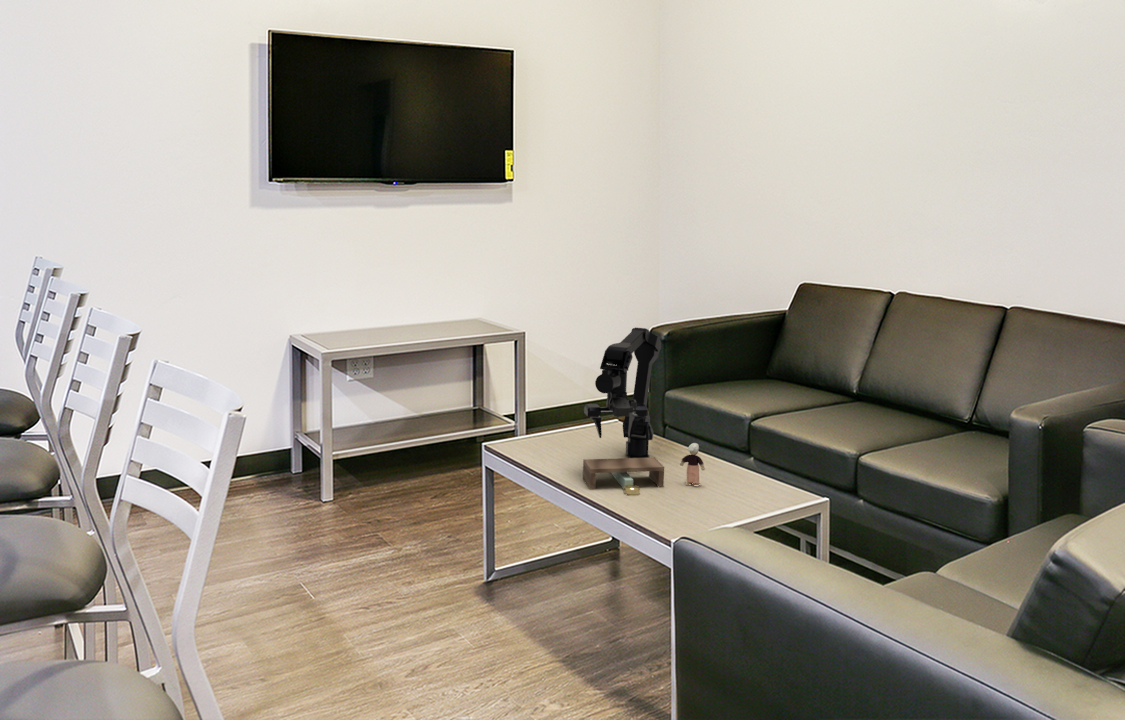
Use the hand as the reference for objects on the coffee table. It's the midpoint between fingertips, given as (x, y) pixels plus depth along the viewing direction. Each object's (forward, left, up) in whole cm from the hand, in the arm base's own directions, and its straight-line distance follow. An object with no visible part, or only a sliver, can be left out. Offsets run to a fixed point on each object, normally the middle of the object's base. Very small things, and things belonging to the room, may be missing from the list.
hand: (614, 437), depth 288 cm
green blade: (0, +7, -11) cm, 13 cm away
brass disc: (0, +20, -11) cm, 23 cm away
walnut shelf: (0, +11, -11) cm, 15 cm away
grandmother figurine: (-20, +15, -11) cm, 27 cm away
